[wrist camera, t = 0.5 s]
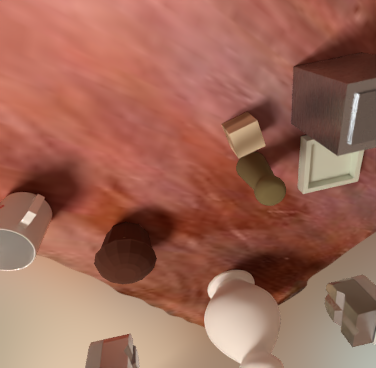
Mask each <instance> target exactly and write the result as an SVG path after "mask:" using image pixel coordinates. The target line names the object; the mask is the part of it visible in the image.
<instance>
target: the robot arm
mask: <svg viewBox="0 0 376 368" xmlns="http://www.w3.org/2000/svg"><path fill="white" fill-rule="evenodd" d="M326 291H327V293H328V295H327V296H326V298H325V307H326V310H327V312H328V314H329V316H330V318H331V319H332V320H333V322H335V323H337V324H338V325H340V326H341V332H342V334H343V335H344V336H345V338H346V339H347V340H348V342H349V343H350V344H351V346H352V347H355V346H359V345H364V344H368V343H372V342H374V344H375V345H376V285H375V284H373V283H372V282H371V281H370V280H369V279H368V278H367V277H366V276H364V275H360V276H356V277H351V278H346V279H342V280H339V281H335V282H331V283H328V284H327V285H326ZM85 368H139V358H138V352H137V349H136V347H135V346H134V345H133V338H132V335H131V334H127V335H122V336H118V337H113V338H109V339H104V340H100V341H96V342H92V343H91V344H90V346H89V349H88V355H87V361H86V367H85Z"/></svg>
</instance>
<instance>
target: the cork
mask: <svg viewBox="0 0 376 368" xmlns="http://www.w3.org/2000/svg"><path fill="white" fill-rule="evenodd" d="M236 169H237V173H238V175H239V176H240V177H241V178H242V179H243V180H244V181H245V182H246V183H247V184H249V185H250V186H251V187H252V188H253V189H254V194H255V196H256V199H257V200H258V201H259V202H260V203H261V204H264V205H269V206H271V205H275V204H278V203H279V202H280V201H282V199H283V198H284V196H285V194H286V187H285V184H284V182H283V181H282V180H281V179H280V178H278V177H276V176H274V174H273V172H272V170H271V168H270V166H269V165H268V163H267V161H266V159H265V157H264V156H263V155H262V154H260V153H258V152H252V153H249V154H247V155H245V156H243V157H241V158H240V159H239V161H238V163H237V166H236Z"/></svg>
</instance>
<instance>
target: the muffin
mask: <svg viewBox="0 0 376 368" xmlns="http://www.w3.org/2000/svg"><path fill="white" fill-rule="evenodd" d="M156 259H157V258H156V255H155V253H154V250H153V249H152V247H151V243H150V240H149V236H148V233H147V231H146V230H144V229H143V228H142V227H141V226H140V225H139V224H133V223H129V222H124V223H122V224H119V225H115V226H113V227H112V229H111V230H110V232H109V233H108V234H107V235H106V237H105V239H104V242H103V244H102V247H101V249H100V250H99V251H98V252H97V253H96V256H95V262H94V264H95V266H96V268H97V270H98V271H99V273H100V274H101V276H102V277H103V278H105V279H107V280H108V281H110V282H112V283H118V284H130V283H134V282H137V281H139V280H142V279H143V278H144V277H145V276H146V275H148V274H149V273H150V272H151V271H152V269H153V268H154V266H155V262H156Z"/></svg>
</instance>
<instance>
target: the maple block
mask: <svg viewBox="0 0 376 368" xmlns="http://www.w3.org/2000/svg"><path fill="white" fill-rule="evenodd" d="M222 127H223V129H224V132H225V134H226V137H227V139H228V142H229V144H230V147H231V148H232V150H233V151H234V153H235V154H236V155H237V157H238V158H241V157H243V156H245V155H247V154H249V153H252V152H254V151H256V150H258V149H260V148H262V147H264V146H265V142H264V139H263V136H262V133H261V130H260V127H259V124H258V121H257V120H256V119H255V118H254V117H253V116H252V115H251V114H249V113H248V112H246V113H243V114H241V115H239V116H237V117H235V118H233V119H231V120H229V121H227V122H225V123H223V124H222Z"/></svg>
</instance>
